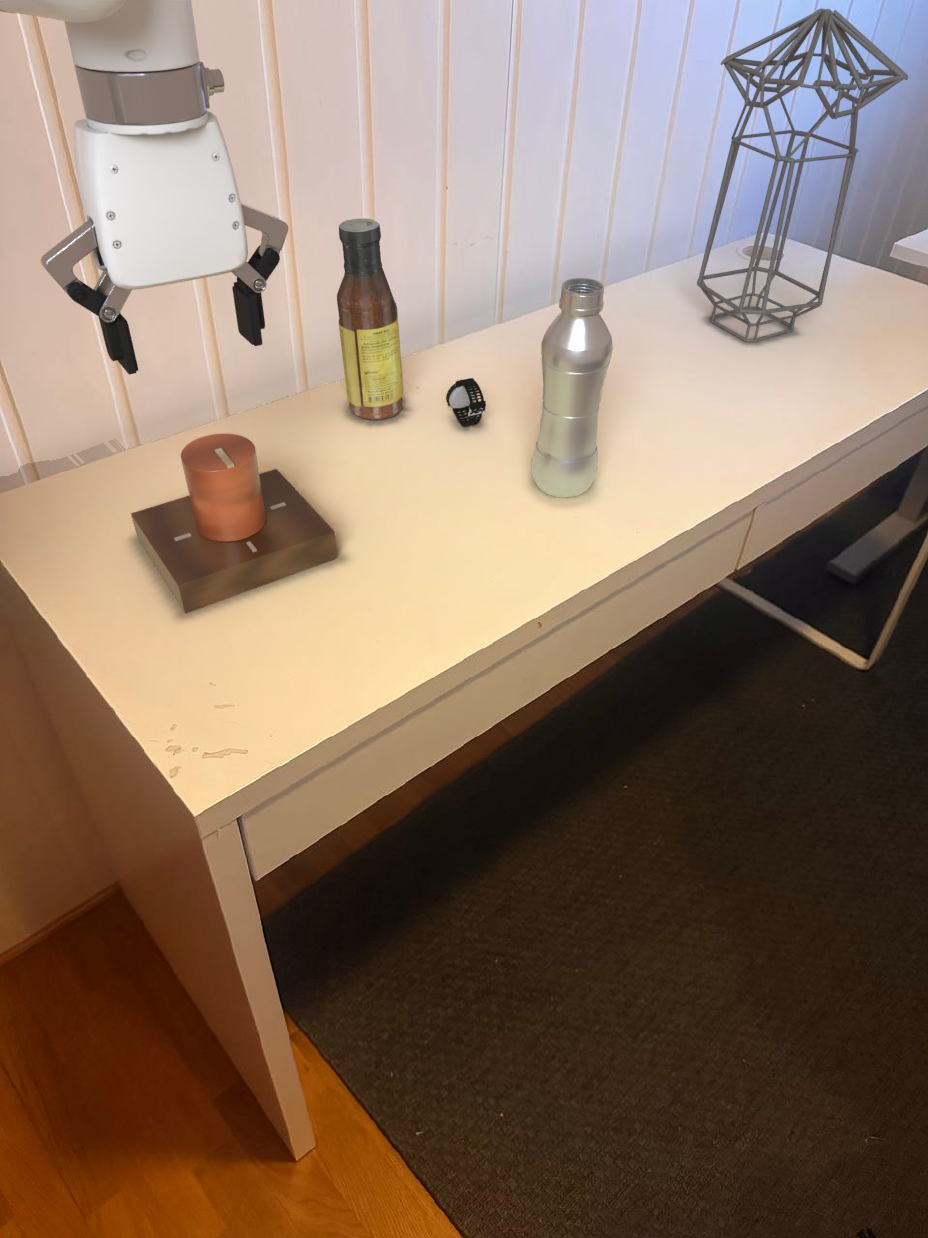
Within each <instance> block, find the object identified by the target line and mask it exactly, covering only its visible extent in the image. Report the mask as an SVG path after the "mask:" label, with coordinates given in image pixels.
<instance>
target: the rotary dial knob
mask: <svg viewBox="0 0 928 1238" xmlns="http://www.w3.org/2000/svg"><path fill="white" fill-rule="evenodd" d="M180 461H181V465H182V469H183V474H184V478H185V482H186V487H187V492H188V496H190V501H191V505H192V510H193V514H194V519H195V523H196V527H197V530H198V532H199V533H200V534H201V535H202V536H204V537H206V538H208V539H211V540H214V541H222V542H228V541H237V540H241V539H245V538H247V537H250V536H252V535H254V534H255V533H257V532H258V531H259V530H260V529H262V527H263V526H264V524H265V522H266V513H265V507H264V501H263V494H262V488H261V482H260V476H259V474H260V470H259V464H258V463H259V462H258V457H257V452H256V446H255V444H254V442H253V441H251V440H250V439H249V438H248V437H246V436H243V435H240V434H234V433H213V434H208V435H204V436H201V437H199V438H195V439H194V440H192V441H190V442H189V443H188V444H186V445H185V446H184V447H183V449H182V450H181V452H180Z"/></svg>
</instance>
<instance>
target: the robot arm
mask: <svg viewBox="0 0 928 1238" xmlns="http://www.w3.org/2000/svg"><path fill="white" fill-rule="evenodd" d="M0 12H2V13H9V14H19V15H25V16H32V17H39V18H45V19H51V20H56V21H61V22H64V25H65V26H64V27H65V31H66V35H67V39H68V43H69V48H70V53H71V57H72V61H73V62H72V63H73V64H74V65H73V66H74V71H75V75H76V79H77V84H78V88H79V92H80V97H81V101H82V106H83V111H84V115H85V118H82V119H78V120H76V121H74V123H73V143H74V156H75V165H76V173H77V183H78V189H79V195H80V201H81V207H82V213H83V219H84V223H83V224H81V225H80V226H79V227H77V228H76V229H75V230H73V231H72V232H71V233H69V234H68V235H67V236H66V237H64V238H63V239H62V240H60V242H58V243H57V244H56V245H54V246H53V247H52V248H50V249H49V250H48V251H47V252H45V253H44V254H43V255H42V256H41V258H40V263H41V265H42V267H43V268H44V270H45V271H46V272H47V273H48V274H49V275H50V276H51V277H52V279H53V280H54V281H55V282H56V283H57V284H58V285H59V287H60V288H61V289H62V290H63V291H64V292H65V293H66V295H68V297H69V298H70V299H71V300H72V301H73V302H75V303H76V304H77V305H80V306H81V307H83V308H84V309H86V310H88V311H89V312H91V313H92V314H94V315H96V316H97V317H98V320H99V325H100V328H101V332H102V336H103V341H104V345H105V348H106V352H107V354H108V357H109V359H110V360H111V361H112V362H118V363H119V364H120V366H121V367H122V368H123V369H124V370H125V372H126V373H127V374H128V375H129V376H130V375H133V374H137V372H138V371H139V366H138V365H139V364H138V361H137V357H136V352H135V348H134V343H133V340H132V334H131V330H130V326H129V322H128V321H127V319H126V318H125V317H124V315H123V314H122V313H121V311H122V310H123V308H124V306H125V303H126V302H127V300H128V298H129V296H130V295H131V293H132V291H133V290H143V289H151V288H155V287H161V286H166V285H171V284H178V283H182V282H183V283H184V282H189V281H195V280H199V279H205V278H209V277H210V278H211V277H216V276H220V275H225V274H229V273H232V274H233V275H234V277H236V281H234V282H233V286H232V287H231V289H232V296H233V301H234V302H233V303H234V310H235V316H236V323H237V330H238V333H239V334H240V336H242V337H243V338H244V339H245V340H246V341H247V342H248V343H249V344H250V345H251V346H254V347H259V346H262V345H263V336H262V330H264V329H265V328H266V322H265V313H264V312H265V311H264V304H263V297H262V296H263V295H262V293H263V292H264V291H265V290H266V289H267V281H268V279H270V276H271V275H272V273H273V272H275V271H274V270H276V268H277V266H278V265H279V263H280V260H281V257H280V254H281V251H282V250H283V248H284V244H285V242H286V238H287V235H288V232H289V225H288V223H287V222H285V221H284V220H282V219H281V218H279V217H277V216H276V215H272V214H271V213H267V212H265V211H262V210H260V209H257V208H255V207H252V206H251V205H248V204H246V203H242V202H241V198H240V193H239V189H238V185H237V181H236V176H235V172H234V167H233V165H232V161H231V157H230V153H229V150H228V147H227V143H226V140H225V137H224V133H223V131H222V128H221V125H220V122H219V119H218V117H217V116H216V115H215V114H214V113H213V112H211V111H209V110H208V109H210V97H212V96H214V95H215V94H219V93H224V92H225V79H224V75H223V72H222V71H221V69H219V68H215V69H210V68H209V67H205V65H204V62H203V61H200V60H201V59H200V53H199V46H198V45H199V44H198V40H197V31H196V24H195V18H194V10H193V4H192V0H0ZM246 227H249V228H252V229H254V230H256V231H258V232H261V239H260V241H261V242H260V245H258V247H257V248H256V249H255V250H254V252H253V254H252V255H251V256H250V258H249V259H248V255H249V248H248V247H249V246H248V237H247V229H246ZM90 253H91V256H92V259H93V262H94V264H95V266H96V267H97V269H98V270H101V271H102V272H101V274H100V275H99V278H98V280H97V282H96V283H95V286H93V288H92V287H91V286H89V285H88V284H86V283H84V282H83V281H82V280H79V278H78V277H77V276H76V275H75V273H74V267H75V266H76V264H78V263H79V262H80V261H82V260H83V259H84V258H85V257H87V256H88V255H89V254H90Z"/></svg>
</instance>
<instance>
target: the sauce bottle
mask: <svg viewBox="0 0 928 1238" xmlns="http://www.w3.org/2000/svg"><path fill="white" fill-rule="evenodd" d="M338 237H339V240H340V242H341V245H342V246H341V247H342V254H343V262H344V263H343V269H344V273H343V277H342V280H341V282H340V285H339V288H338V290H337V293H336V304H337V311H338V329H339V337H340V347H341V355H342V364H343V373H344V381H345V388H346V397H347V400H348V402H349V410H350V412H351V414H353V415H355V416H357V417H359V418H361V419H364V420H369V421H383V420H387V419H389V418H393V417H395V416H396V415H398V414H399V413H400V412H401V411H402V409H403V407H404V405H403V396H404V380H403V367H402V366H403V365H402V355H401V354H402V353H401V339H400V329H399V327H400V326H399V314H398V313H399V312H398V306H397V303H396V301H395V298H394V295H393V293H392V290H391V287H390V285H389V281H388V279H387V276H386V273H385V270H384V268H383V263H382V256H381V254H382V253H381V244H380V241H381V238H382V232H381V226H380V223H379V222H378V221H376V220H374V219H371V218H353V219H352V218H351V219H348V220H344V221H342V222H341V223H339V224H338Z"/></svg>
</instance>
